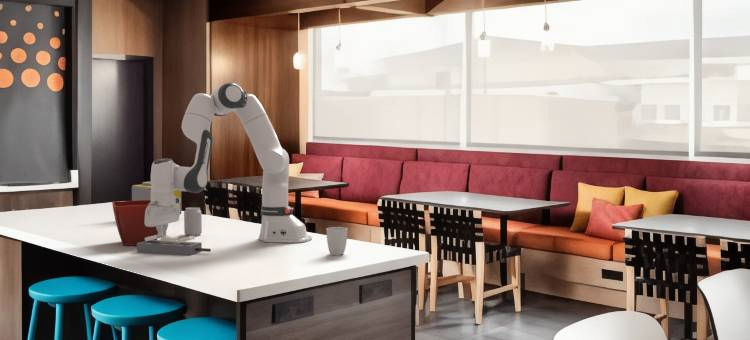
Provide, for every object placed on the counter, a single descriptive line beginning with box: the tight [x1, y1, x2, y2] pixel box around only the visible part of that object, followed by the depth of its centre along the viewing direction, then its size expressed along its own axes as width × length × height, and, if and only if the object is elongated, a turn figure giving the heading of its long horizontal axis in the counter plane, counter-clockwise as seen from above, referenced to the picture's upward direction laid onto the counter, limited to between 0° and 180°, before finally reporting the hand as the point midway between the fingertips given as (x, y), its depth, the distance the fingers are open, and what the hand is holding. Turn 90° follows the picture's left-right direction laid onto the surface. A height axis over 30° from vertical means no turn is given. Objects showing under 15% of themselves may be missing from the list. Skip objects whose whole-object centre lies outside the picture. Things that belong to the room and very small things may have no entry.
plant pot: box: [112, 200, 158, 246], centre depth 353 cm, size 19×19×17 cm
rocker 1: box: [145, 235, 161, 242], centre depth 335 cm, size 6×3×2 cm, turn 73°
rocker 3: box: [177, 236, 195, 243], centre depth 331 cm, size 6×3×2 cm, turn 73°
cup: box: [325, 226, 349, 256], centre depth 328 cm, size 8×8×10 cm
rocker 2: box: [160, 234, 179, 242], centre depth 333 cm, size 6×3×2 cm, turn 74°
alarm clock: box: [131, 181, 182, 216], centre depth 427 cm, size 20×16×18 cm
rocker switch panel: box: [136, 239, 212, 256], centre depth 332 cm, size 29×9×4 cm, turn 73°
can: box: [183, 206, 203, 237], centre depth 375 cm, size 8×8×12 cm
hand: (162, 235), depth 333 cm, fingers closed, pressing on rocker 2
